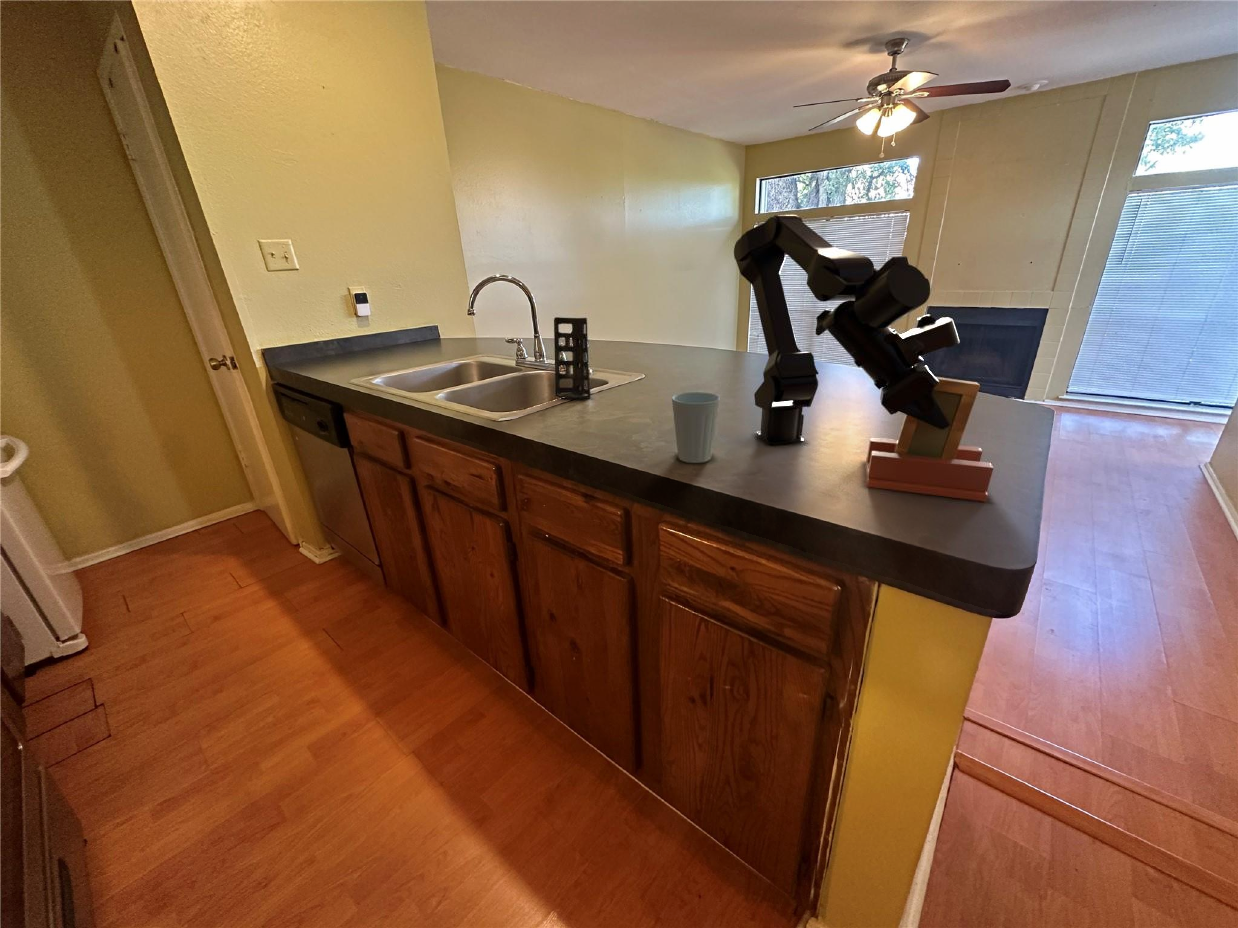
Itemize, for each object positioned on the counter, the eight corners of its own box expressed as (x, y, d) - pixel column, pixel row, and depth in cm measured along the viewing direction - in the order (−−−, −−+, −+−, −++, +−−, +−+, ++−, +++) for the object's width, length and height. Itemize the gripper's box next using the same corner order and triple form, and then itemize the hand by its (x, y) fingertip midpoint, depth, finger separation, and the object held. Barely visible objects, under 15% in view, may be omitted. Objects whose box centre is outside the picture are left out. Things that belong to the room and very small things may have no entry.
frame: (891, 466, 69) (918, 376, 64) (891, 460, 71) (917, 374, 67) (947, 478, 66) (980, 385, 61) (945, 472, 68) (977, 382, 64)
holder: (547, 397, 123) (545, 317, 118) (561, 393, 130) (560, 317, 124) (585, 400, 119) (585, 317, 114) (598, 396, 126) (598, 318, 120)
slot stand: (867, 486, 68) (872, 457, 66) (865, 462, 76) (870, 435, 75) (986, 501, 62) (995, 470, 61) (970, 473, 71) (978, 445, 69)
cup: (726, 455, 81) (729, 395, 77) (701, 469, 76) (702, 405, 72) (689, 446, 86) (689, 390, 82) (663, 459, 81) (662, 399, 77)
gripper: (933, 300, 54) (1028, 403, 53) (915, 291, 69) (988, 371, 69) (846, 367, 60) (931, 459, 59) (848, 345, 75) (915, 418, 75)
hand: (943, 423), depth 66 cm, fingers closed on frame, 3 cm apart
